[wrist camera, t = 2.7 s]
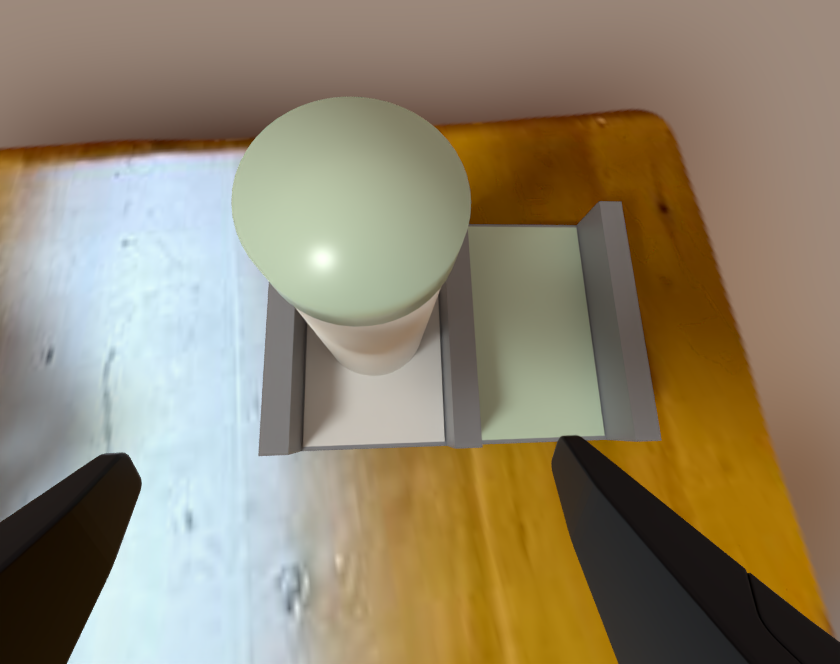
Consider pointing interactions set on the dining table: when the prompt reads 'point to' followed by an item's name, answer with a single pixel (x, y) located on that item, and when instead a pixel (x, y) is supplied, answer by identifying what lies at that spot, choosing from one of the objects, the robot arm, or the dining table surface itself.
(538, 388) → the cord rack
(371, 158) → the white capped canister
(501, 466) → the dining table surface
